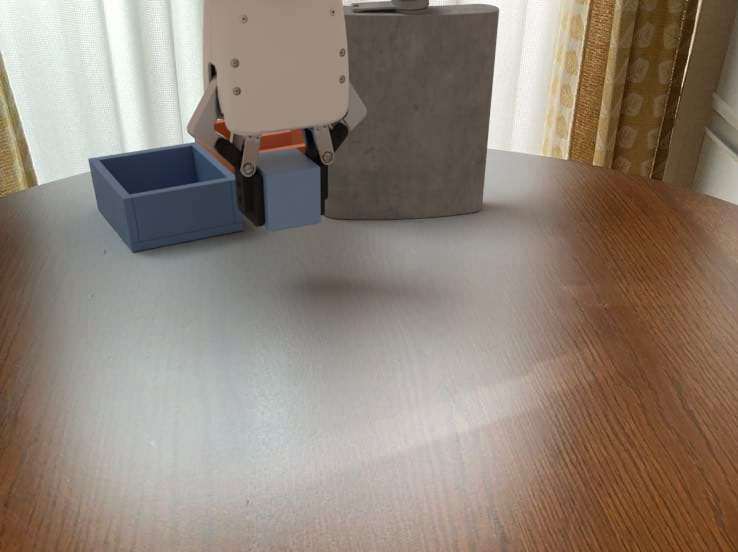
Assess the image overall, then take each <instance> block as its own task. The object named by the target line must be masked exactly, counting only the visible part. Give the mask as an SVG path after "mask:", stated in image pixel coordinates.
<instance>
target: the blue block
mask: <svg viewBox="0 0 738 552" xmlns="http://www.w3.org/2000/svg"><path fill="white" fill-rule="evenodd" d="M257 172H258V173H259V174H260V175H261V176H262V178H263V189H264V209H265V224H264V225H263V226H262V227H263V228H264V229H266V230H267V232H269V233H273V232H278V231H284V230H290V229H296V228H301V227H307V226H313V225H317V224H321V223H322V220H321V219H322V215H321V199H320V167H319V166H318V165H317V164H316V163H314V162H313V161H312V160H311V159H309V158H308V157H307V156H305V155H304V154H303V153H302V152H300V151H299V150H298V149H296V148H291V149H284V150H277V151H270V152H263V153H259V154H258V161H257Z"/></svg>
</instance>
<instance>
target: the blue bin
mask: <svg viewBox="0 0 738 552" xmlns="http://www.w3.org/2000/svg"><path fill="white" fill-rule="evenodd" d="M87 161H88V166H89V170H90V176H91V181H92V186H93V190H94V196H95V200H96V206H97V210H98V209H99V210H98V211H99V212H100V214H101V215H102V214H103V215H102V216H103V217H104V218H105V220H106V221H107V223H108V224H109V225H110V226H111V227H112V228H113V230H114V231H115V232H116V234H117V235H118V236H119V238H120V239H122V241H123V242H124V244H125V245H126V246H127V247H128V248H129V250H130V251H131V253H135V252H141V251H146V250H151V249H156V248H161V247H166V246H171V245H175V244H180V243H186V242H191V241H196V240H200V239H201V240H202V239H207V238H210V237H211V238H212V237H216V236H221V235H222V236H223V235H227V234H231V233H237V232H242V231H244V221H243V213H242V212H240V210H239V208H238V205H237V196H236V182H235V175H234V174H233V173H231V172H230V171H229V170H228V169H227V168H226V167H225V166H224V165H222V164H221V163H220V162H219V161H218V160H217V159H216V158H215V157H213V156H212V155H211V154H210V153H209V152H208V151H207V150H206V149H204V148H203V147H202V146H201V145H200V144H199V143H198V142H195V141H193V142H186V143H181V144H174V145H167V146H160V147H154V148H148V149H142V150H136V151H129V152H121V153H116V154H110V155H103V156H96V157H89V158H88V159H87Z"/></svg>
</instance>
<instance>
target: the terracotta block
mask: <svg viewBox="0 0 738 552" xmlns="http://www.w3.org/2000/svg"><path fill="white" fill-rule="evenodd" d="M291 145H292V134H291V131H290V130H289V131H281V132H274V133H266V134H262V136H261V142H260V148H259V151H261V150H267V149H273V148H279V147H285V146H291Z"/></svg>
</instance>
